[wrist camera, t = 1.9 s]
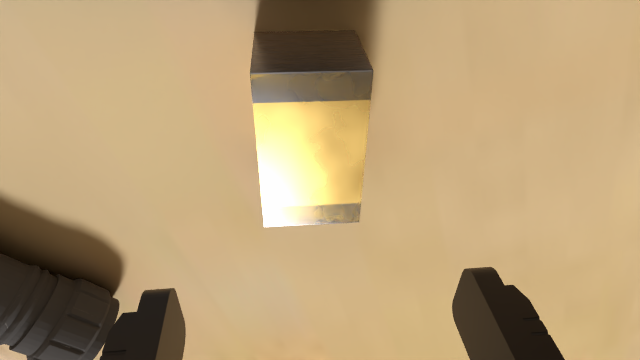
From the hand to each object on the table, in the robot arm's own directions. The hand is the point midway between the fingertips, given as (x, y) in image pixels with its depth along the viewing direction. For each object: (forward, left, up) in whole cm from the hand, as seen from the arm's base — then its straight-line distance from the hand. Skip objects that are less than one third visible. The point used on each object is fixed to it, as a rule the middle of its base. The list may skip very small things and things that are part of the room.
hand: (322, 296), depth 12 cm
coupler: (0, 0, -12) cm, 12 cm away
